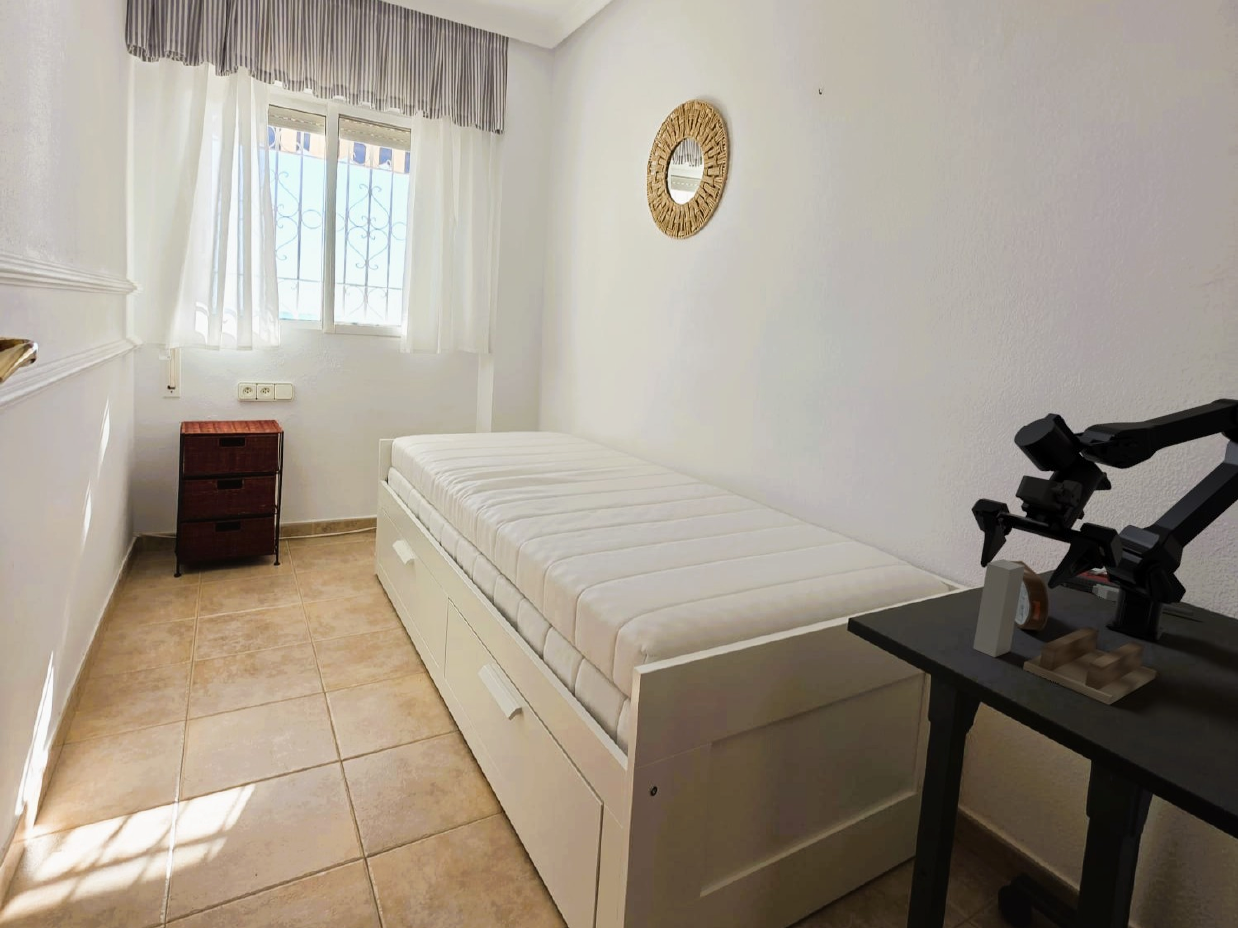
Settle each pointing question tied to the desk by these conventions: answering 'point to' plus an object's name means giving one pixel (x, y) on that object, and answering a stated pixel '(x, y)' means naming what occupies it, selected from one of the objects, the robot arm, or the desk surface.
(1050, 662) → the rack
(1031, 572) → the tin
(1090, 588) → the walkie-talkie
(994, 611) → the clay bar
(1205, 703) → the desk surface
